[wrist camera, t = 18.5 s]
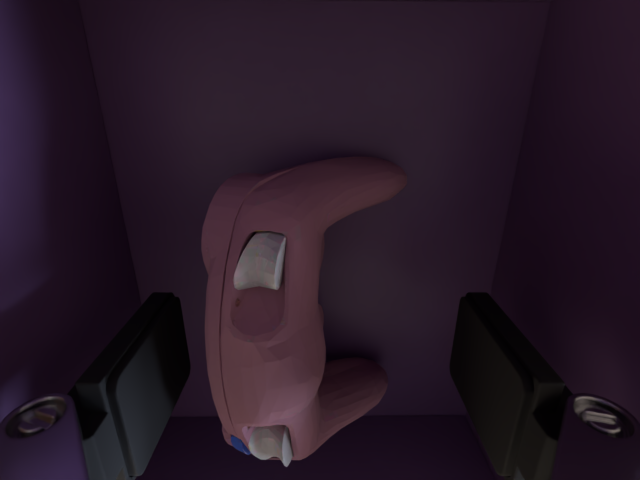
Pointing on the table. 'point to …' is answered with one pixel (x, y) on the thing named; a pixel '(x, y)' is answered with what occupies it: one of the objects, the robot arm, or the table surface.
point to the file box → (344, 235)
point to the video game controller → (284, 305)
